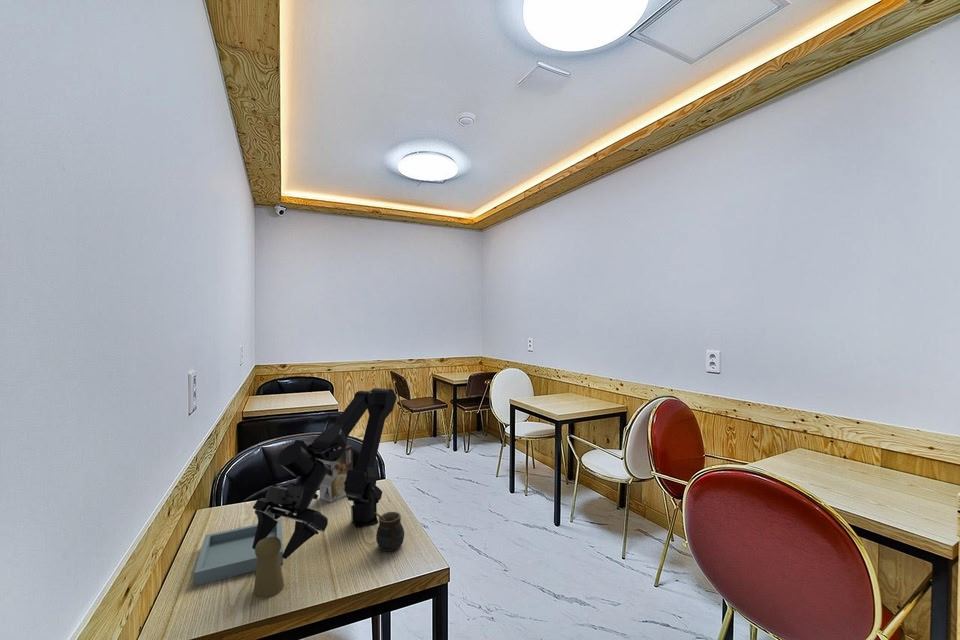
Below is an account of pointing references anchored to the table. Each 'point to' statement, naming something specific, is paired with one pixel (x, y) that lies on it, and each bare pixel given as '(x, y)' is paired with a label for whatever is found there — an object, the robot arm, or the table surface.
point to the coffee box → (336, 476)
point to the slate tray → (230, 553)
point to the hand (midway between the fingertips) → (268, 553)
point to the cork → (268, 568)
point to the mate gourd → (389, 531)
